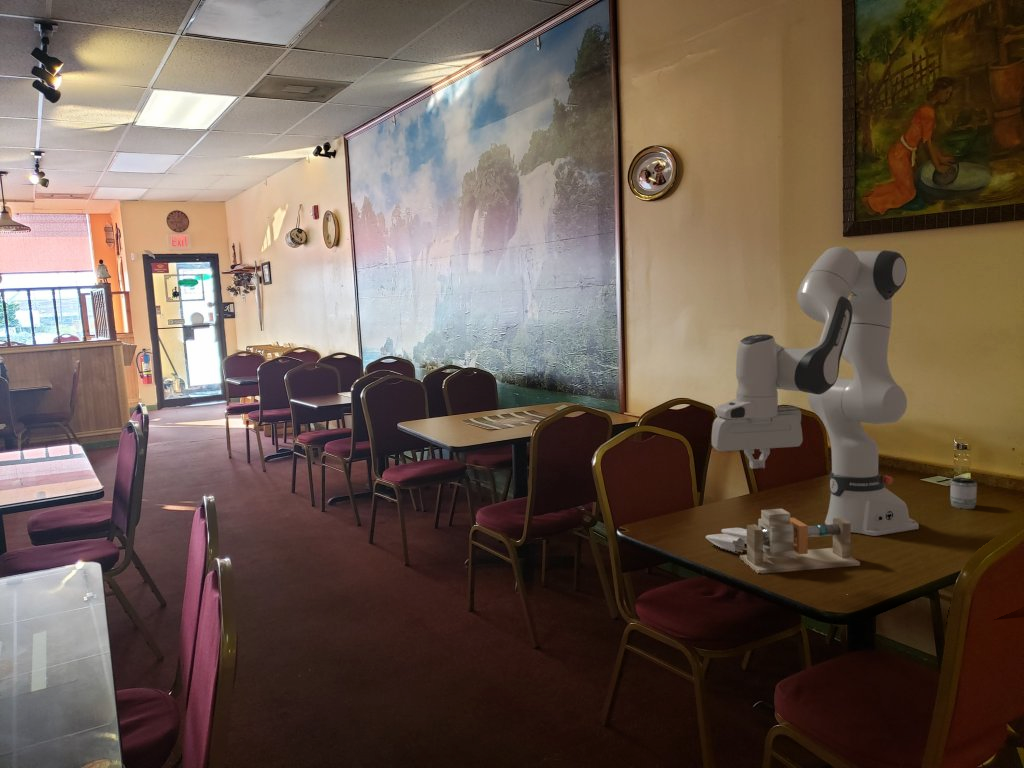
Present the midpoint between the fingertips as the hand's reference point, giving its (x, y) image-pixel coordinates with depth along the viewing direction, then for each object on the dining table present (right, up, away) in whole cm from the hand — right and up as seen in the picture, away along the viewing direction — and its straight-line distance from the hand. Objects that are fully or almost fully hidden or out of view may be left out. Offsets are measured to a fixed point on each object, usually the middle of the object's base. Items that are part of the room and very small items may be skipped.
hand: (757, 467), depth 164 cm
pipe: (+11, -17, +3) cm, 20 cm away
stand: (+11, -22, +3) cm, 25 cm away
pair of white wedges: (0, -22, +17) cm, 27 cm away
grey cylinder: (+72, -16, +41) cm, 84 cm away
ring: (+10, -19, +3) cm, 22 cm away
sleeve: (+5, -20, +3) cm, 20 cm away
